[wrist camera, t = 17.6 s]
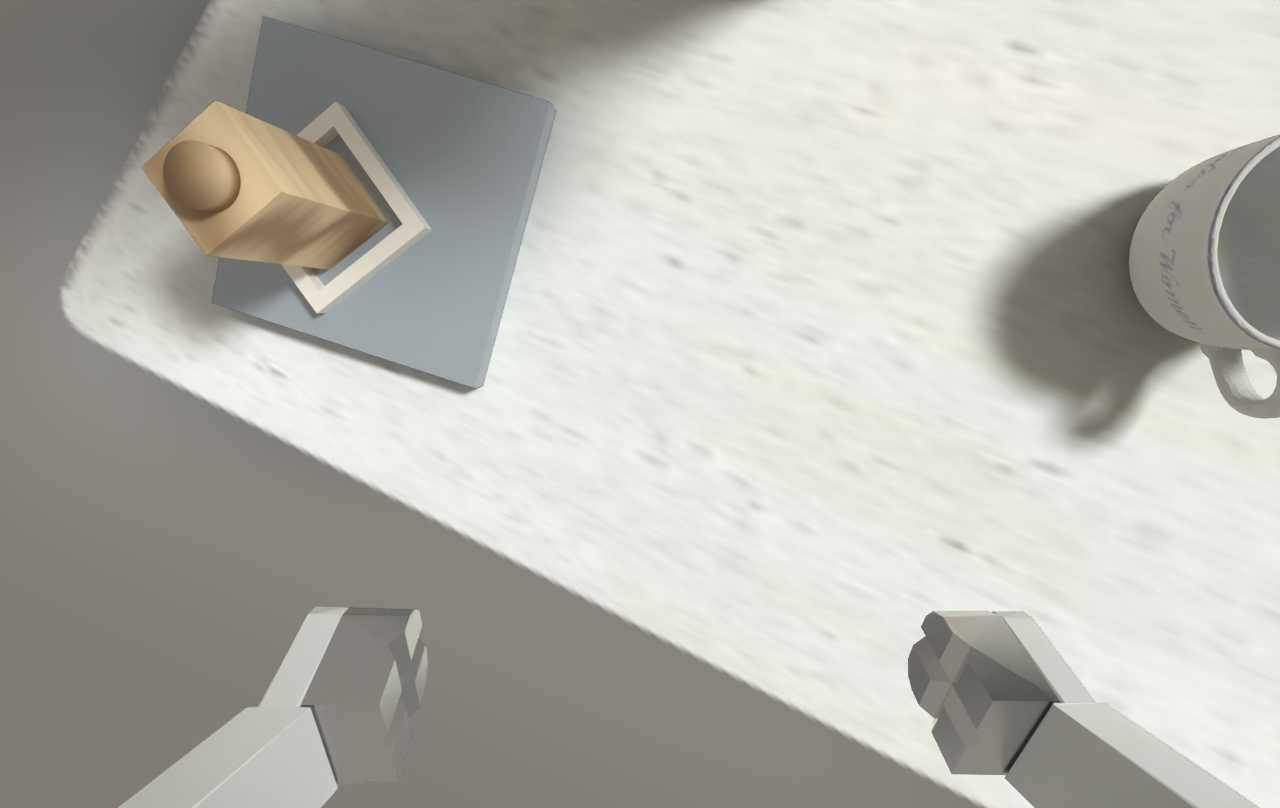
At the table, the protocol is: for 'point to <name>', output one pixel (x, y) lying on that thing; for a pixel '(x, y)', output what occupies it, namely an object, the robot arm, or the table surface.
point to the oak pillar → (262, 192)
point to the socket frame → (413, 223)
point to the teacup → (1218, 265)
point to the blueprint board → (433, 180)
